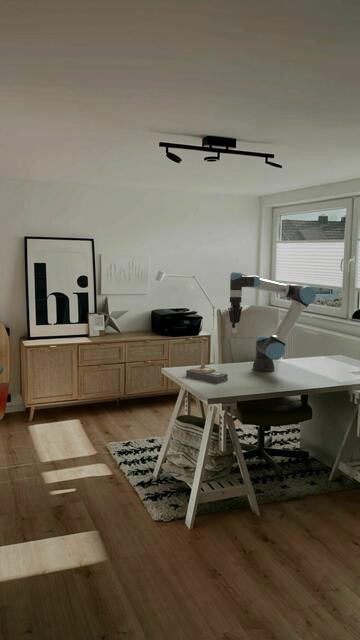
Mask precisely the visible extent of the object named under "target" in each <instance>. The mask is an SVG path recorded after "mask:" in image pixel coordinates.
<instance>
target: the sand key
mask: <svg viewBox="0 0 360 640" xmlns="http://www.w3.org/2000/svg"><path fill="white" fill-rule="evenodd" d="M209 368H210V367H208V368H204V369H201V372H202V373H206V374H209V373H212V369H213V368H211V369H209Z"/></svg>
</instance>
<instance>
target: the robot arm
mask: <svg viewBox="0 0 360 640" xmlns="http://www.w3.org/2000/svg"><path fill="white" fill-rule="evenodd" d="M229 288H230V289H229V296H230V297H229V303H230V307H228V308H227V310H228V316H229V323H232V324H231V325H232V326H231V329H232V330H231V331H232V332H231V333H233V334H237V333H238V323H240V321H241V316H242V310H243V306H241V303H242V296H243V293H242V292H243V291H242V290H243V289H242V288H250V289H255V290H258V291H259V290H260V291H264V292H268V293H272V294H277V295H279V296H280V295H281V296H282V298H287V299H290V302H291V303H290V306H289V307H288V309H287V311H286V313H285V315H284V317H283V318H282V320H281V321H280V323H279V326H278V327H277V329H276V330H275V332H274V333H273V334H271V335H270V336H257V337H256V341H255V358H254V361H253V364H252V370H254V371H257V372H264V373H265V372H268V373H269V372H274V371H275V370H276V369H275V368H276V367H275V364H274V361H275V360H280V359H281V358H282V357H284V355H285V353H286V346H287V342H286V341H287V339H288V337H289V335H290V334H291V332H292V330H293V328H294V327H295V325H296V323H297V322H298V320H299V317H300V316H301V314H302V313H303V311H304V310H306V309H307V308H308V307H309V305H310V304H313V303H314V301H315V300H316V298H317V293H316V290H315V288H313V287H312V286H310V285H304V284H298V283H297V284H293V283H287V282H286V283H280V282H276V281H274V280H273V281H272V280H270V279H269V280H268V279H264V278H261V277H260V276H259V275H251V274H249V275H248V274H243V273H242V272H231V273H230V278H229Z"/></svg>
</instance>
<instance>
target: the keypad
mask: <svg viewBox="0 0 360 640" xmlns="http://www.w3.org/2000/svg"><path fill="white" fill-rule="evenodd" d="M195 368H196V367H194V368H190V369H186V370H185V377H188V378H192V379H196V380H201V381H205V382H208V383H213V384H219V383H223V382H227V381H229V380H228V379H229V377H228V376H229V375H228V373H223V372H219V371H216V370H215V371H212V373H215V372H217V373H222V375H219V376H215V375H211V373H209V374H206V373H202V372H201V371H198V372H197V371H193V370H192V369H195ZM197 368H198V367H197ZM198 369H201V368H198Z"/></svg>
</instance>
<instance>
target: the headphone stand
mask: <svg viewBox="0 0 360 640" xmlns="http://www.w3.org/2000/svg"><path fill="white" fill-rule="evenodd" d="M200 340H201V350H200V351H201V352H200V353H201V354H200V356H201V357H200V367H197V368H201V369H204V368H209V369H212V371H215V372H216V369H214V368H211V367H208V366H206V342H209V341H210V340H209V338H207V337H201V338H200Z"/></svg>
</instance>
